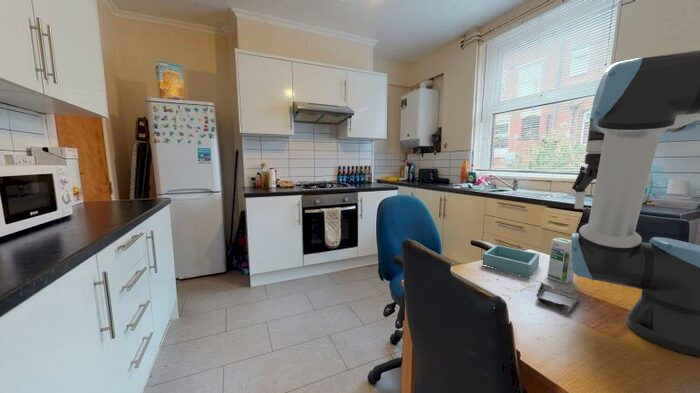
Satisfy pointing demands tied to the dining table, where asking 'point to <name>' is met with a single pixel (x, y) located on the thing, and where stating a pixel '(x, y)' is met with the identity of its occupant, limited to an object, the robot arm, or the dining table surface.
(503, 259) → the box
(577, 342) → the dining table surface
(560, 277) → the syrup box
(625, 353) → the dining table surface
